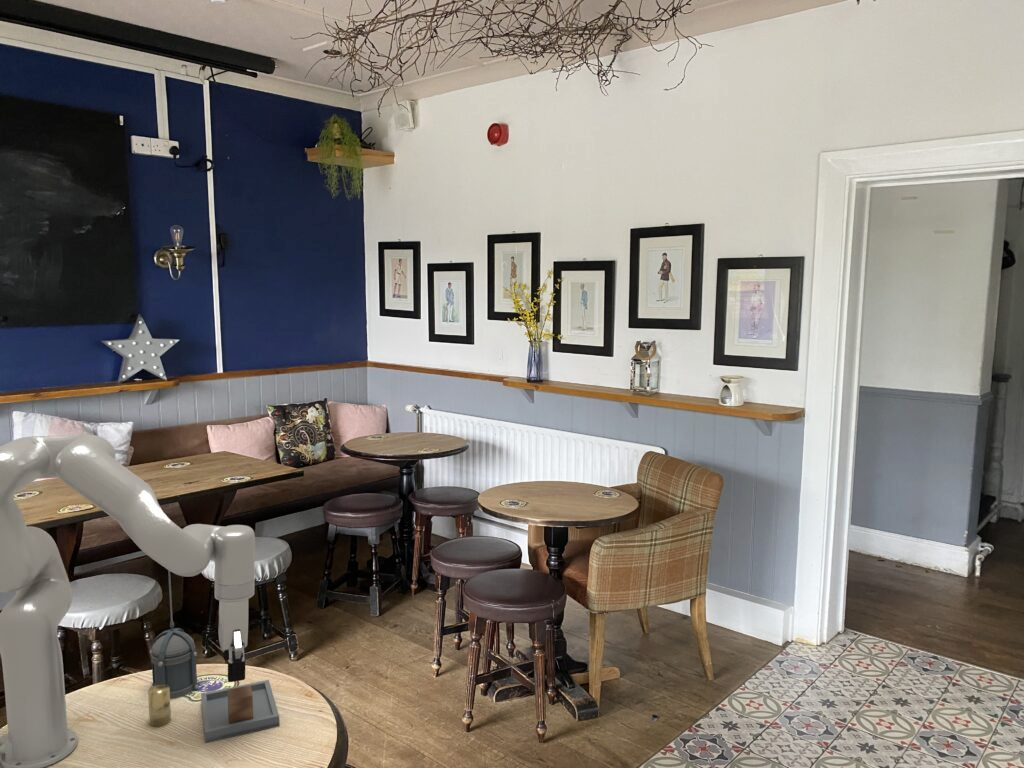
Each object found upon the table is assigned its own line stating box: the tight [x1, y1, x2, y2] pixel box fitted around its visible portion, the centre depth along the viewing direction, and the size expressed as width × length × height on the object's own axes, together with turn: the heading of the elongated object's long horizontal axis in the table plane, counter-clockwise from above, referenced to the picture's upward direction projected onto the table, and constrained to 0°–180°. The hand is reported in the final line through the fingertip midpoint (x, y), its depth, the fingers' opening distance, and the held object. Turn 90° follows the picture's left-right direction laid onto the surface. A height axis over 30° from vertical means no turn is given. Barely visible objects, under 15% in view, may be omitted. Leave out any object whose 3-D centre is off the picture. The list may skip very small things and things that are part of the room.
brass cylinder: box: [147, 684, 172, 728], centre depth 154 cm, size 4×4×7 cm
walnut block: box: [227, 685, 253, 724], centre depth 154 cm, size 4×4×6 cm
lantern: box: [149, 569, 200, 700], centre depth 166 cm, size 11×11×30 cm
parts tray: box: [200, 679, 280, 744], centre depth 157 cm, size 14×16×2 cm
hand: (234, 669), depth 152 cm, fingers open, 9 cm apart
